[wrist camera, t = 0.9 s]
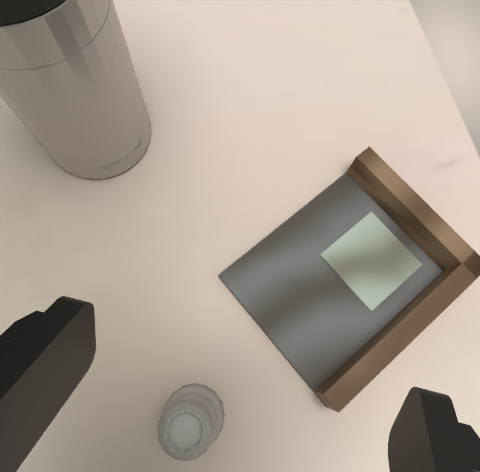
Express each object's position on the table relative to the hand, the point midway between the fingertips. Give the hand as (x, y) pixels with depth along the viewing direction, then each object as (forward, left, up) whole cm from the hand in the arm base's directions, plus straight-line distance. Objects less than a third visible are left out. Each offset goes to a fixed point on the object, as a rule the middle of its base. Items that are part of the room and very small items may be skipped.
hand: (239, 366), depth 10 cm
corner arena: (+1, +12, -23) cm, 26 cm away
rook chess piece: (+1, -4, -23) cm, 23 cm away
